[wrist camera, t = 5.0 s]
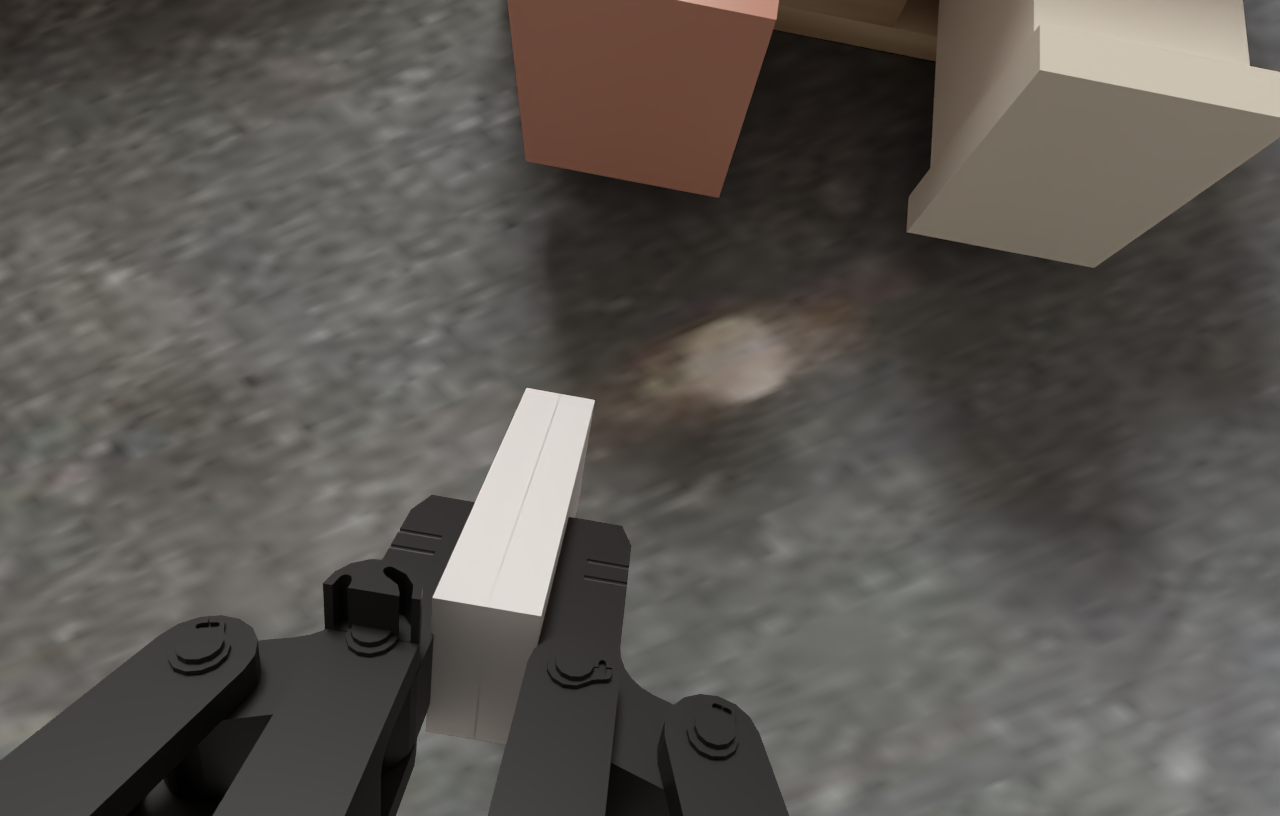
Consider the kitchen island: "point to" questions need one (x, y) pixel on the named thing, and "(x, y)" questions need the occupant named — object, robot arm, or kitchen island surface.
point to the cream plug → (1085, 120)
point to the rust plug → (638, 85)
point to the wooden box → (866, 23)
